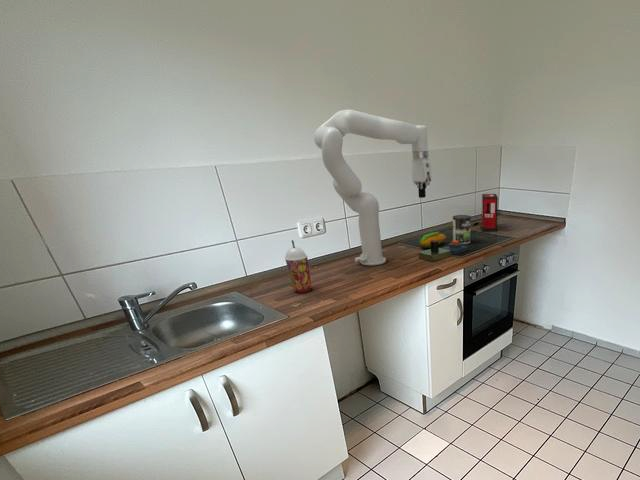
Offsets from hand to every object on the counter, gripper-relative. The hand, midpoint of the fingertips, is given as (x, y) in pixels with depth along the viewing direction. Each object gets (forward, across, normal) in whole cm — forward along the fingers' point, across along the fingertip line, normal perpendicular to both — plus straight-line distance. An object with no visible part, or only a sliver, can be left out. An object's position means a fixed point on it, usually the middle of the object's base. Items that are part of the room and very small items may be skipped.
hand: (422, 197), depth 191 cm
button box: (+27, -12, -11) cm, 31 cm away
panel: (+27, -12, +4) cm, 30 cm away
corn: (+27, +5, -11) cm, 30 cm away
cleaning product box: (+27, +10, -66) cm, 72 cm away
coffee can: (+27, -1, -28) cm, 39 cm away
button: (+23, -12, -11) cm, 28 cm away
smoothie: (+27, -6, +73) cm, 78 cm away
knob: (+24, -12, +4) cm, 27 cm away
